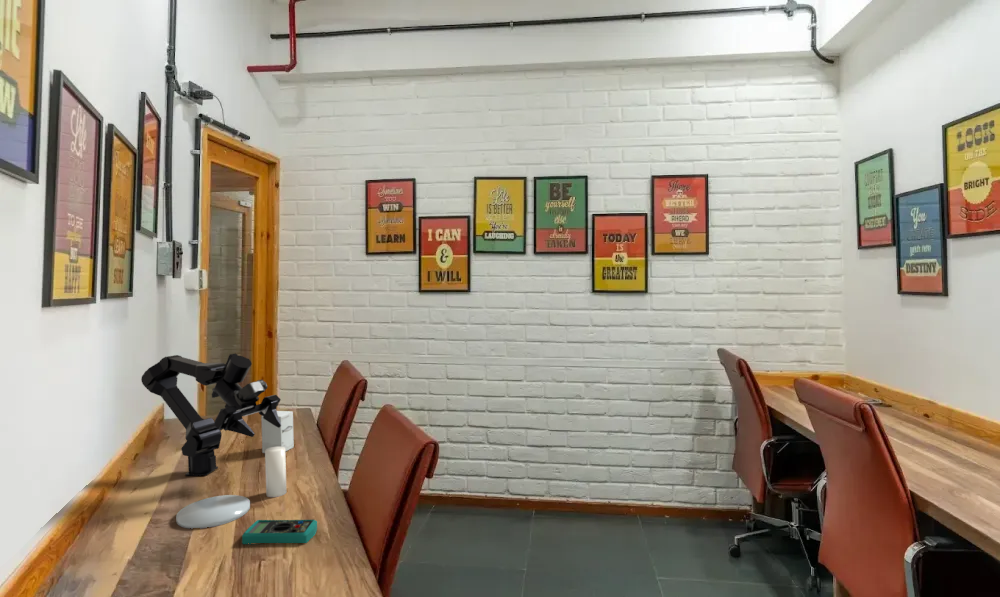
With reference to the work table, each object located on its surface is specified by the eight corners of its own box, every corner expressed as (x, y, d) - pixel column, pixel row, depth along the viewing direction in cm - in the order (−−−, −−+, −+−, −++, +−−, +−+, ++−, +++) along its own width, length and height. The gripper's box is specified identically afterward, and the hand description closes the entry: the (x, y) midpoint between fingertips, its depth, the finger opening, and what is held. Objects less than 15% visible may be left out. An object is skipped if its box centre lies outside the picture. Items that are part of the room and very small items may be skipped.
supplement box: (281, 454, 173) (280, 416, 173) (261, 453, 175) (260, 415, 174) (294, 447, 181) (293, 410, 180) (275, 446, 182) (274, 410, 182)
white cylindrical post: (262, 497, 140) (261, 452, 139) (271, 489, 145) (270, 446, 144) (281, 497, 140) (280, 452, 139) (289, 489, 144) (288, 446, 144)
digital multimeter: (308, 545, 115) (308, 532, 115) (240, 546, 115) (240, 533, 115) (320, 530, 122) (319, 517, 122) (256, 530, 122) (255, 518, 122)
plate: (160, 528, 123) (160, 523, 123) (202, 499, 139) (202, 494, 139) (227, 528, 122) (227, 523, 122) (261, 499, 138) (261, 495, 138)
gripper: (214, 379, 141) (250, 417, 136) (270, 367, 158) (304, 401, 153) (199, 410, 144) (234, 449, 139) (256, 396, 161) (288, 429, 156)
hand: (267, 430), depth 147 cm, fingers open, 9 cm apart
